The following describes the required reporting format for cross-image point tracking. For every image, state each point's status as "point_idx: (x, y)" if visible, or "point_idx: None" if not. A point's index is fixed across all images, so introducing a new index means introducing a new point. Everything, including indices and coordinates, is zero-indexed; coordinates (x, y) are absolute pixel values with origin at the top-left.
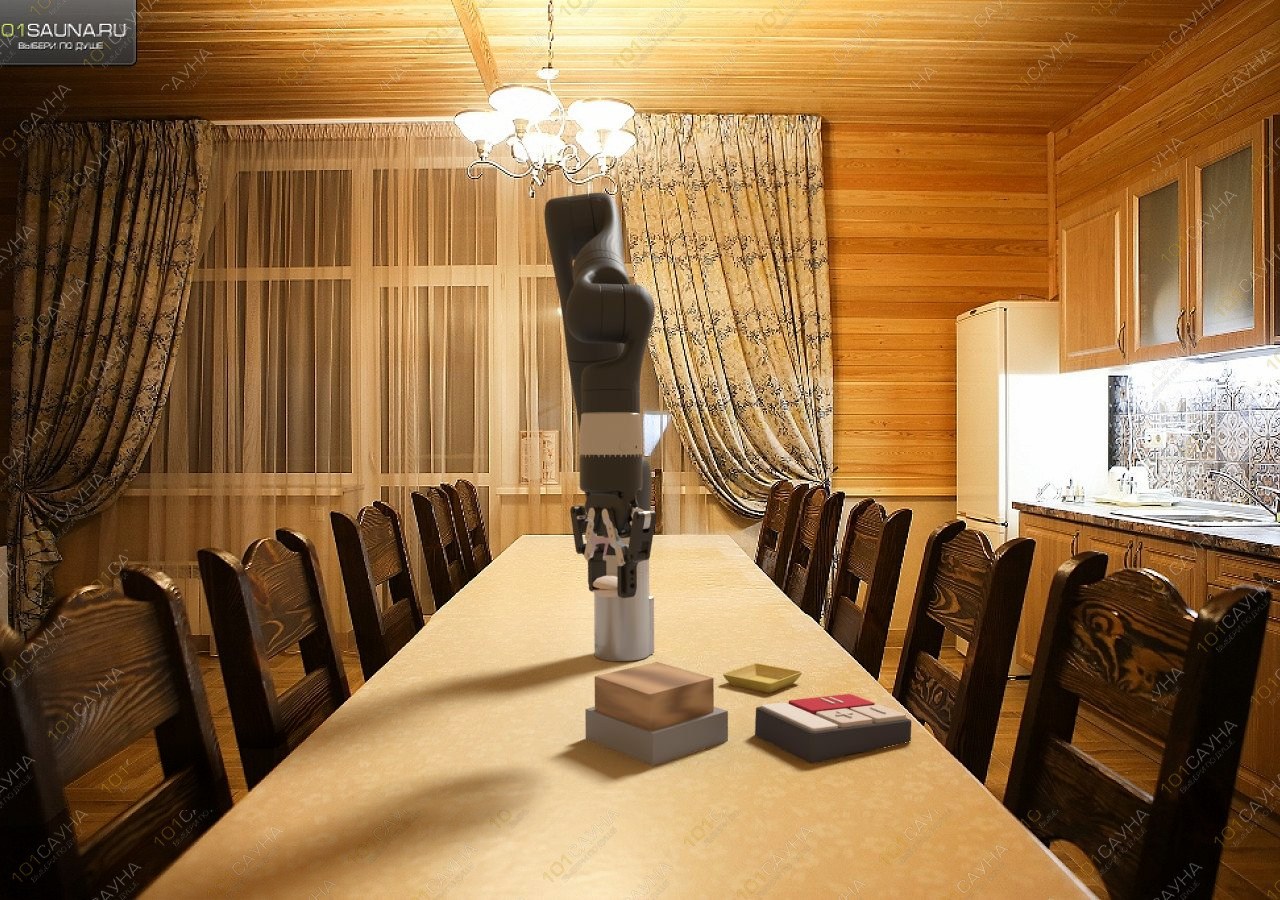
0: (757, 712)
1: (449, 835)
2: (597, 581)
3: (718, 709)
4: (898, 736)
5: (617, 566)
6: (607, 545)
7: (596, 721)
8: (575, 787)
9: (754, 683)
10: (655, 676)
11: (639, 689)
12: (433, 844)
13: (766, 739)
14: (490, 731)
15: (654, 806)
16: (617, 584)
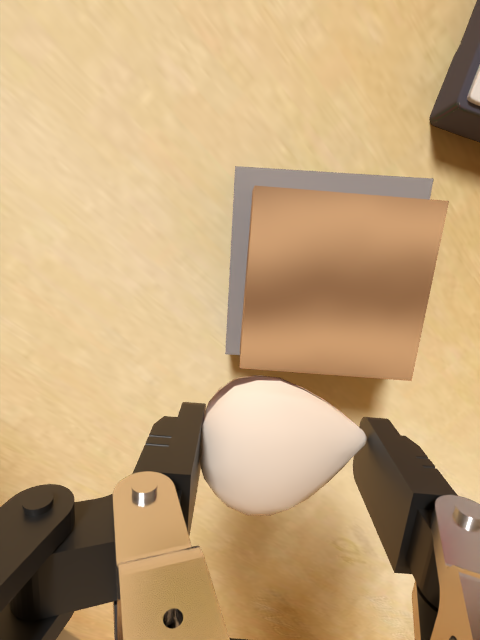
0: (460, 112)
1: (341, 598)
2: (252, 510)
3: (413, 185)
4: None
5: (396, 572)
6: (187, 543)
7: None
8: (351, 458)
9: None
10: (338, 284)
11: (374, 371)
12: (345, 614)
13: (465, 136)
14: (101, 413)
15: (463, 433)
16: (366, 505)
